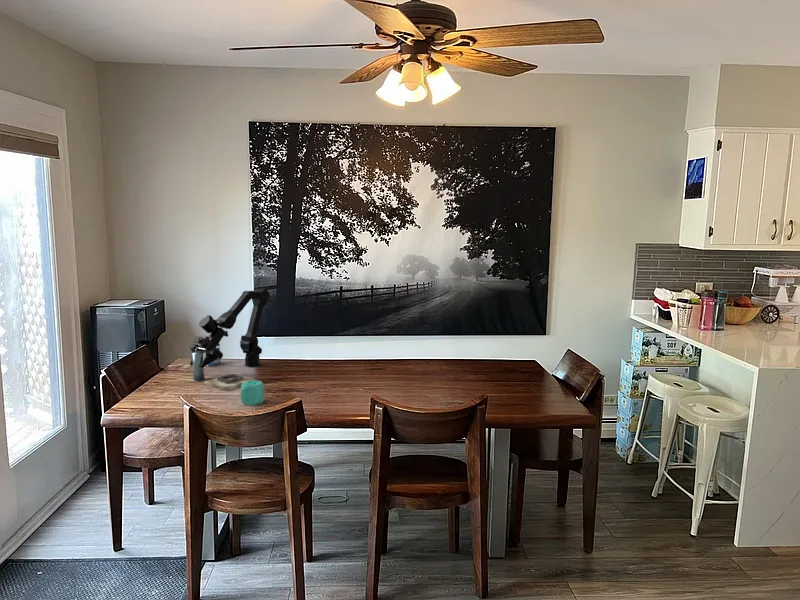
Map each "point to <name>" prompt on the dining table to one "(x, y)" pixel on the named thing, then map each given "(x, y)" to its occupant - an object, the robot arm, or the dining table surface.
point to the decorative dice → (252, 392)
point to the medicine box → (213, 361)
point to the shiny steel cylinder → (197, 366)
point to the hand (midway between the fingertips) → (195, 366)
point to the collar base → (228, 381)
